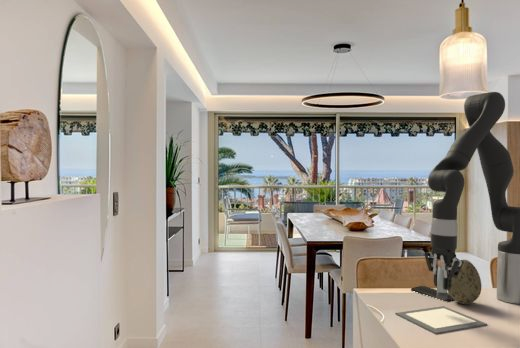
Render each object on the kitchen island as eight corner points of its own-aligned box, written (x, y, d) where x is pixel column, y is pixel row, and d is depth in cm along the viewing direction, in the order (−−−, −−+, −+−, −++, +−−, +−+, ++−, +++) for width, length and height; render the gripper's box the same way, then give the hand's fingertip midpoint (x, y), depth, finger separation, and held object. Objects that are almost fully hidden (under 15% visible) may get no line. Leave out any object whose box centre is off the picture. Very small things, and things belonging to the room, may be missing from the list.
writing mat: (443, 307, 131) (443, 305, 131) (487, 325, 117) (487, 323, 117) (395, 314, 124) (395, 312, 124) (435, 334, 109) (435, 332, 109)
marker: (441, 295, 126) (442, 258, 126) (449, 298, 123) (451, 260, 123) (433, 296, 125) (435, 258, 125) (442, 299, 122) (443, 260, 122)
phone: (422, 285, 154) (459, 296, 141) (422, 288, 154) (459, 299, 141) (409, 288, 150) (446, 299, 137) (409, 291, 150) (446, 303, 137)
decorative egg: (488, 307, 132) (489, 262, 132) (460, 309, 130) (461, 263, 130) (465, 297, 142) (466, 256, 142) (439, 299, 140) (440, 256, 140)
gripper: (472, 236, 119) (470, 293, 119) (435, 229, 132) (433, 281, 132) (453, 237, 116) (451, 295, 116) (418, 230, 129) (416, 282, 129)
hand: (442, 287), depth 124 cm, fingers closed on marker, 3 cm apart
